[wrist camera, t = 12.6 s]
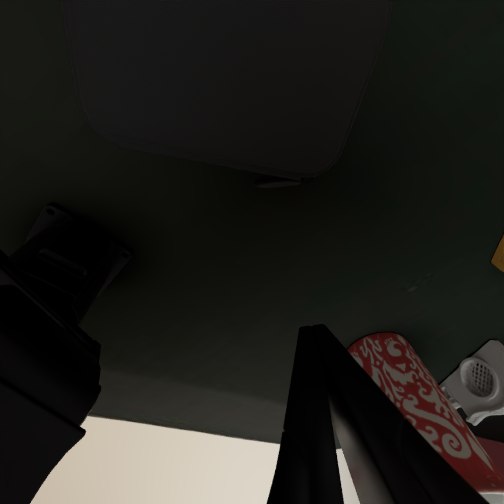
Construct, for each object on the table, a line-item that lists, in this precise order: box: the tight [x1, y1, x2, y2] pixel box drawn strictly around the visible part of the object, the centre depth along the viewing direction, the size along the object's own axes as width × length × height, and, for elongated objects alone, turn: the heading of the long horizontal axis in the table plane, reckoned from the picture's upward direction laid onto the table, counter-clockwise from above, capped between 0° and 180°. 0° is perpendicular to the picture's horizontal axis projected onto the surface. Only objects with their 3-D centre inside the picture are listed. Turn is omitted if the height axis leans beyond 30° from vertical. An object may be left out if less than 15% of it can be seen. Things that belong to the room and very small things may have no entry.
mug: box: [347, 332, 504, 504], centre depth 26 cm, size 13×9×14 cm
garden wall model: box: [439, 340, 504, 426], centre depth 31 cm, size 12×2×6 cm, turn 168°
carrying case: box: [61, 0, 392, 188], centre depth 14 cm, size 11×3×15 cm
